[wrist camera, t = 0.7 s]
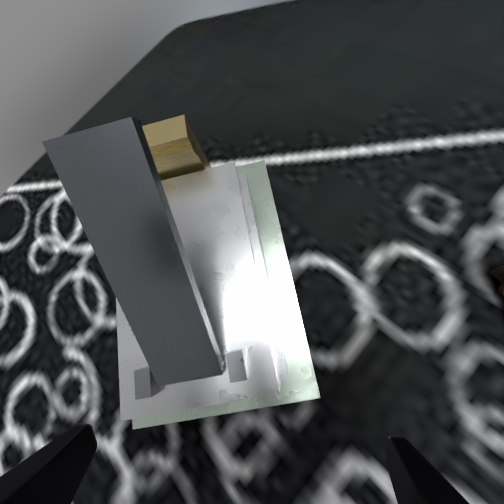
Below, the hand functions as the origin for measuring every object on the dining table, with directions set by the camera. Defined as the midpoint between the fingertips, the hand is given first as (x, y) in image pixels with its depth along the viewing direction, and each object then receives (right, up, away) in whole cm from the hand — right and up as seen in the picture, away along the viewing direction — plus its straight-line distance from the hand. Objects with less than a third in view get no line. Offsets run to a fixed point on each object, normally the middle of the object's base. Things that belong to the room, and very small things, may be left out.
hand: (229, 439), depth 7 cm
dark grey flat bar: (-5, +4, +6) cm, 9 cm away
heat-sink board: (-3, +2, +15) cm, 16 cm away
